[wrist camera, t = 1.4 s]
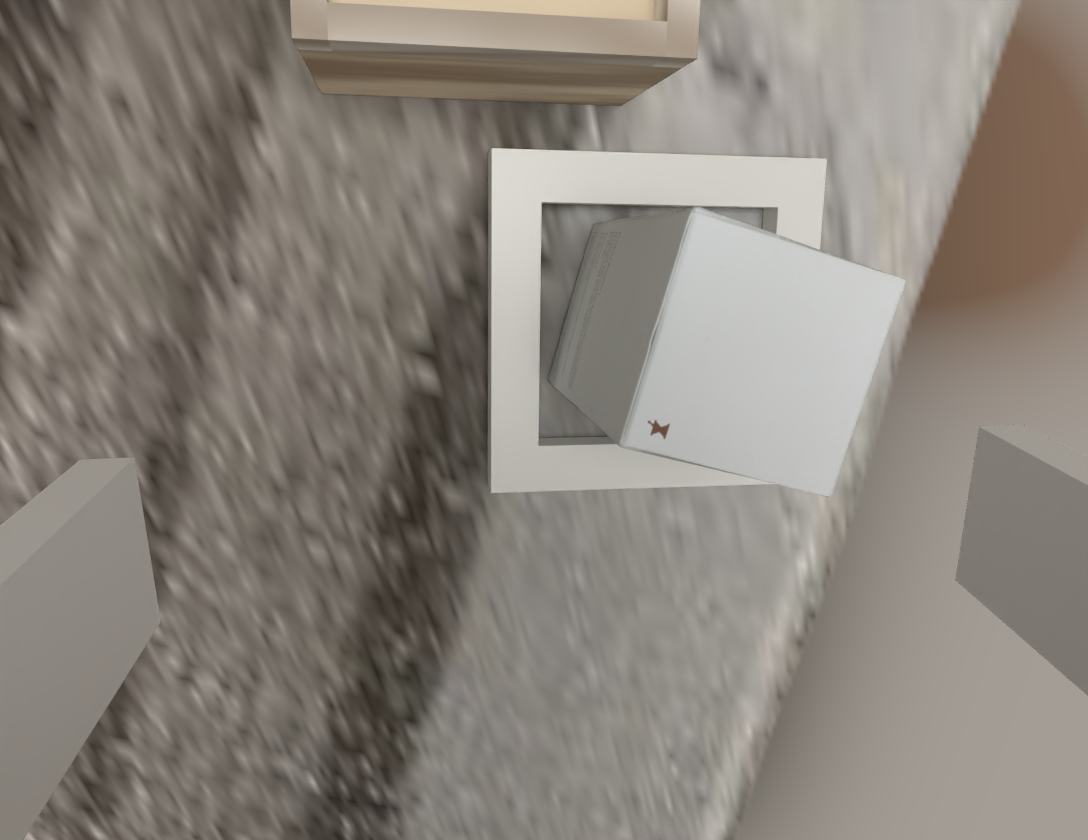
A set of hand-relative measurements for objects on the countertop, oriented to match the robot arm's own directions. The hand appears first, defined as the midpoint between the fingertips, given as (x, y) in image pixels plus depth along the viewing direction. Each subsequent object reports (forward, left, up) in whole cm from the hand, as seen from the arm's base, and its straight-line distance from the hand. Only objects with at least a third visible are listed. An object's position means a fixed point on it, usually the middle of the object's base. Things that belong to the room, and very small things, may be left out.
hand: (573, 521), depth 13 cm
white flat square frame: (+1, -8, -24) cm, 25 cm away
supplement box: (+1, -8, -24) cm, 25 cm away
